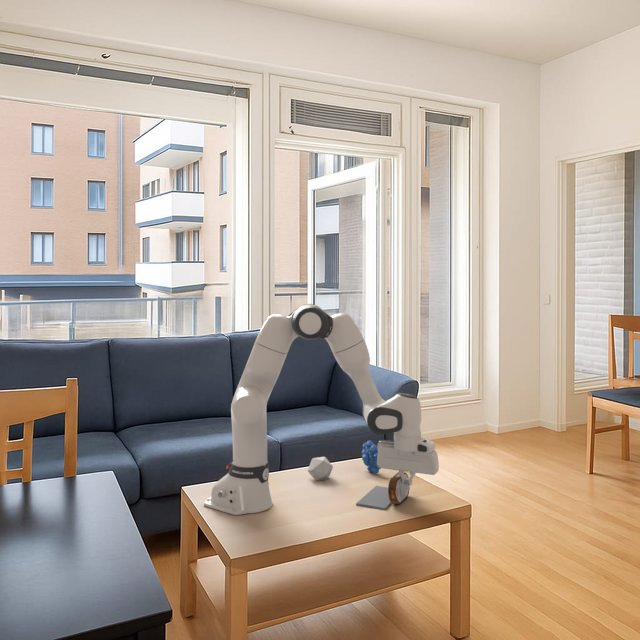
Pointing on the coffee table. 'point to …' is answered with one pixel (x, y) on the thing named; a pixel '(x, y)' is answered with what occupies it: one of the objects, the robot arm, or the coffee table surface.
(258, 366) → the robot arm
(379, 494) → the mat
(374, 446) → the grapes
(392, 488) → the tin
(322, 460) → the die
